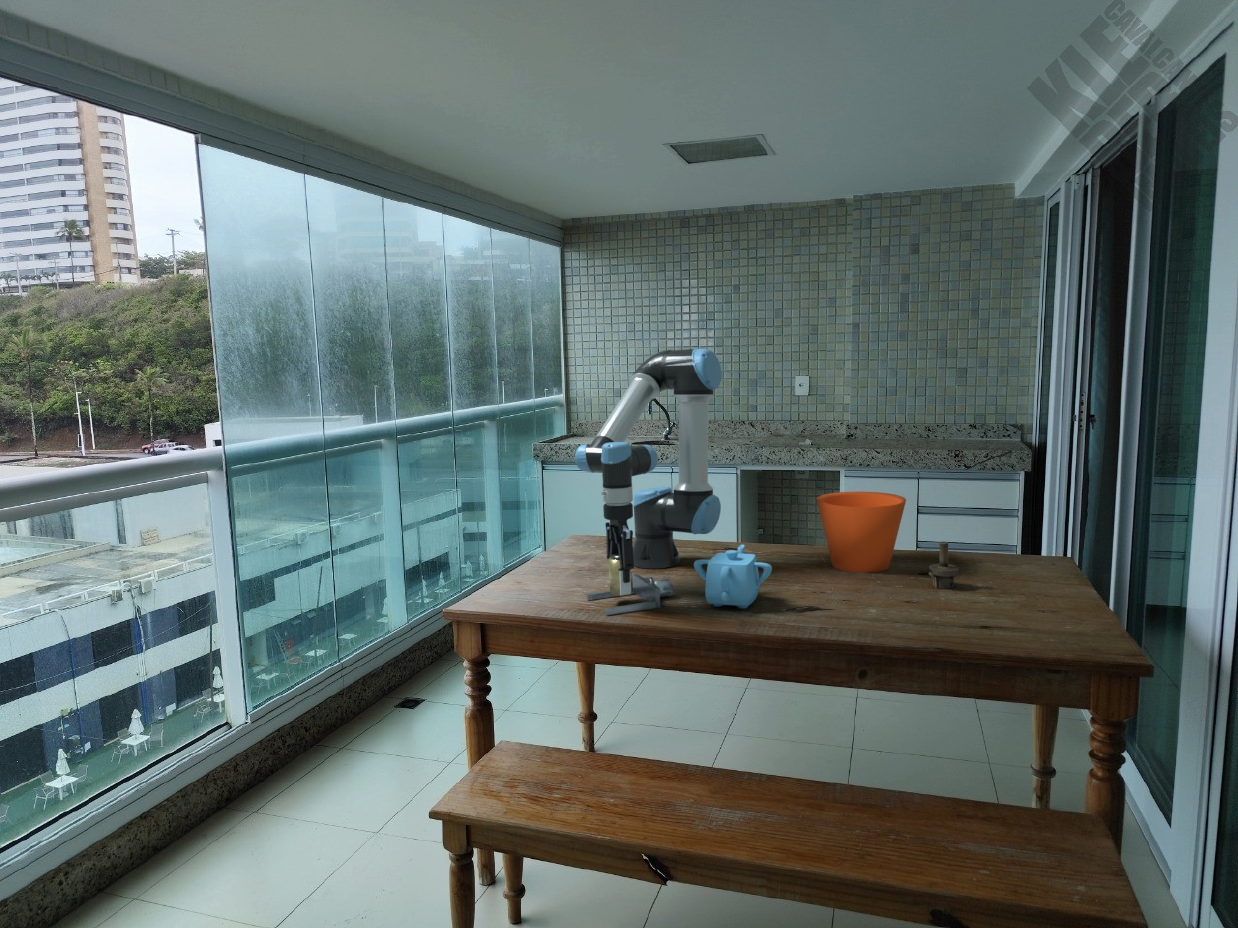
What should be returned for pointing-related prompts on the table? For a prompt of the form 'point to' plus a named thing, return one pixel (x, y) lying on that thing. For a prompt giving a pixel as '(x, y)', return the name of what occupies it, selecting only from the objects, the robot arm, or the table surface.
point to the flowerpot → (861, 528)
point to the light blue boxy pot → (732, 578)
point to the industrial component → (943, 570)
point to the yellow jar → (616, 575)
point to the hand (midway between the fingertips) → (620, 590)
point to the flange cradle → (639, 594)
